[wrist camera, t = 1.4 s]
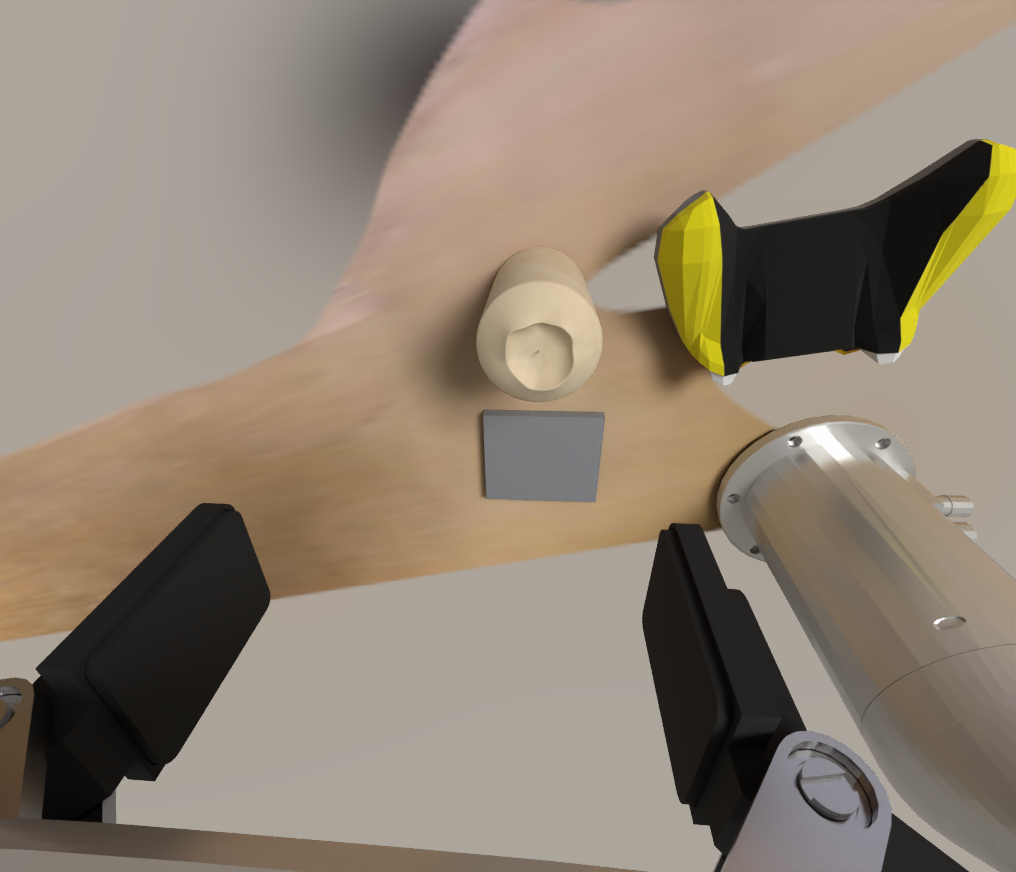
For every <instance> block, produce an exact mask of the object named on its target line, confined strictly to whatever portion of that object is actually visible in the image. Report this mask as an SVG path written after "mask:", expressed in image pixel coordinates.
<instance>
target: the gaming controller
mask: <svg viewBox="0 0 1016 872" xmlns="http://www.w3.org/2000/svg"><path fill="white" fill-rule="evenodd" d="M1015 198H1016V149H1014V148H1012V147H1009V146H1005V145H1001V144H998V143H995V142H993V141H990V140H987V139H973V140H969V141H967V142H965V143H964V144H962V145H961V146H959V147H958V148H956V149H954V150H953V151H951V152H950V153H948V154H947V155H945V156H943V157H942V158H940V159H939V160H937V161H936V162H934V163H932V164H931V165H929V166H928V167H926V168H925V169H923V170H921V171H920V172H918V173H917V174H915V175H914V176H912V177H910V178H909V179H907V180H905V181H904V182H902V183H901V184H899V185H897V186H896V187H894V188H892V189H891V190H889V191H887V192H886V193H884V194H883V195H881V196H879V197H878V198H876V199H874V200H871V201H869V202H867V203H864V204H862V205H860V206H858V207H853V208H848V209H844V210H838V211H832V212H827V213H821V214H815V215H809V216H804V217H798V218H792V219H787V220H781V221H776V222H770V223H765V224H758V225H753V226H746V227H738V226H736V225H735V224H734V222H733V221H732V219H731V218H730V216H729V215H728V214H727V212H726V211H725V210H724V209H723V208H722V206H721V205H720V204H719V203H718V202H717V200H716V199H715V198H714V197H713V196H712V194H711V193H710V192H709V191H706V190H702V191H700V192H698V193H696V194H694V195H693V196H691V197H690V198H689V199H687V200H686V201H685V202H684V203H683V204H682V205H681V206H680V207H679V208H678V209H677V210H676V211H675V212H674V213H673V214H672V215H671V216H670V217H669V218H668V219H667V220H666V221H665V222H664V223H663V224H662V225H661V226H660V227H659V228H658V233H657V240H656V248H655V254H654V259H655V263H656V267H657V271H658V275H659V279H660V283H661V287H662V291H663V295H664V299H665V303H666V306H667V309H668V311H669V314H670V316H671V318H672V321H673V323H674V325H675V328H676V330H677V333H678V335H679V337H680V339H681V340H682V341H683V343H684V344H685V346H686V347H687V349H688V350H689V352H690V353H691V355H692V356H693V357H694V358H695V359H696V360H697V361H698V362H699V363H701V364H702V365H703V366H704V367H706V368H707V369H708V370H709V372H710V375H711V377H712V379H713V381H714V382H716V383H718V384H720V385H722V386H724V385H728V384H731V383H732V381H733V380H734V377H735V376H736V374H737V373H738V371H739V369H740V368H741V367H742V366H744V365H746V364H747V363H749V362H751V361H752V362H755V361H763V360H771V359H778V358H785V357H792V356H800V355H807V354H814V353H821V352H829V351H836V352H838V353H841V354H843V355H845V354H848V353H851V352H855V351H858V350H862V351H863V352H864V353H865V354H867V355H868V356H869V357H870V358H872V359H873V360H874V361H876V362H877V363H878V364H887V363H893V362H894V361H895V360H896V359H897V358H898V357H899V356H900V355H901V353H902V351H903V350H904V348H905V347H906V346H907V345H909V344H910V343H911V341H912V338H913V336H914V334H915V330H916V326H917V321H918V316H919V311H920V309H921V308H922V307H923V305H925V303H926V302H927V301H928V300H929V299H930V298H931V297H932V296H933V295H934V293H935V292H936V291H937V290H938V289H939V288H940V287H941V286H942V285H943V283H944V282H945V281H946V280H947V279H948V278H949V277H950V276H951V274H952V273H953V272H954V271H955V270H956V269H957V268H958V267H959V266H960V264H961V263H962V262H963V261H964V260H965V259H966V258H967V257H968V256H969V255H970V253H971V252H972V251H973V250H974V249H975V248H976V247H977V246H978V245H979V243H980V242H981V241H982V240H983V239H984V238H985V237H986V236H987V235H988V233H989V232H990V231H991V230H992V229H993V228H994V226H996V225H997V223H998V222H999V221H1000V220H1001V219H1002V218H1003V217H1004V216H1005V215H1006V213H1007V212H1008V211H1009V210H1010V209H1011V207H1012V204H1013V202H1014V200H1015Z"/></svg>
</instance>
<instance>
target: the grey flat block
mask: <svg viewBox="0 0 1016 872" xmlns="http://www.w3.org/2000/svg"><path fill="white" fill-rule="evenodd" d="M604 421H605V416H604V412H566V411H517V410H484V414H483V424H484V450H485V475H486V499H510V500H543V501H576V502H596V493H597V484H598V475H599V466H600V457H601V448H602V439H603V430H604Z"/></svg>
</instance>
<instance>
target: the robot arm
mask: <svg viewBox="0 0 1016 872" xmlns="http://www.w3.org/2000/svg"><path fill="white" fill-rule="evenodd" d="M716 509H717V515H718V520H719V522H720V524H721V526H722V529H723V531H724V532H725V534H726V536H727V537H728V539H729V540H730V542H731V543H732V544H733V545H734V546H735V547H737V548H738V549H739V550H740V551H742V552H743V553H745V554H747V555H748V556H750V557H753V558H756V559H758V560H761V561H764V562H766V563H767V564H768V566H769V568H770V570H771V572H772V574H773V575H774V577H775V579H776V581H777V583H778V584H779V586H780V588H781V590H782V592H783V593H784V595H785V597H786V599H787V600H788V603H789V604H790V606H791V608H792V610H793V611H794V613H795V615H796V617H797V619H798V621H799V622H800V624H801V626H802V628H803V629H804V631H805V633H806V635H807V637H808V639H809V640H810V642H811V644H812V646H813V648H814V650H815V651H816V653H817V655H818V657H819V659H820V660H821V662H822V664H823V666H824V668H825V669H826V671H827V673H828V675H829V677H830V679H831V680H832V682H833V684H834V686H835V688H836V689H837V691H838V693H839V695H840V697H841V698H842V700H843V702H844V704H845V706H846V707H847V709H848V711H849V713H850V715H851V716H852V718H853V720H854V722H855V724H856V725H857V727H858V729H859V731H860V733H861V734H862V736H863V738H864V740H865V742H866V744H867V745H868V747H869V749H870V751H871V753H872V754H873V756H874V758H875V760H876V761H877V763H878V765H879V767H880V768H881V770H882V772H883V773H884V775H885V776H886V778H887V779H888V781H889V782H890V784H891V785H892V786H893V788H894V789H895V790H896V792H897V793H898V794H899V795H900V797H901V798H902V799H903V800H904V801H905V802H906V803H907V804H908V805H909V806H910V807H911V809H913V811H914V812H915V813H916V814H917V815H918V816H919V817H921V818H922V819H923V820H924V821H925V822H927V823H928V824H929V825H930V826H931V827H933V828H934V829H935V830H936V831H938V832H939V833H940V834H942V835H943V836H945V837H946V838H947V839H949V840H950V841H952V842H953V843H955V844H956V845H958V846H959V847H961V848H963V849H964V850H966V851H967V852H969V853H970V854H972V855H973V856H975V857H977V858H978V859H980V860H982V861H983V862H985V863H987V864H988V865H990V866H991V867H993V868H995V869H996V870H998V871H999V872H1016V579H1015V578H1014V577H1013V576H1012V575H1011V574H1010V573H1009V572H1007V571H1006V570H1005V569H1004V568H1003V567H1002V566H1001V565H1000V564H998V563H997V562H996V561H995V560H994V559H993V558H992V557H991V556H990V555H988V554H987V553H986V552H985V551H984V550H983V549H982V548H980V546H978V545H977V540H978V537H977V533H976V531H975V529H974V528H973V527H972V525H970V524H968V523H966V522H952V521H950V520H949V519H948V518H947V517H946V516H948V517H968V516H970V515H971V514H972V512H973V509H974V507H973V503H972V501H971V500H970V499H969V498H968V497H966V496H957V495H956V496H954V495H942V496H934V495H933V494H932V493H931V492H930V491H929V490H927V489H926V488H925V487H924V486H923V485H922V484H921V483H919V482H918V481H917V480H916V468H915V462H914V458H913V456H912V454H911V453H910V451H909V449H908V447H907V446H906V445H905V444H904V443H903V442H902V441H901V440H900V439H899V438H898V437H897V436H896V435H894V434H893V433H892V432H890V431H889V430H888V429H886V428H885V427H883V426H882V425H880V424H877V423H874V422H872V421H870V420H868V419H863V418H858V417H853V416H837V415H836V416H835V415H829V416H822V417H814V418H808V419H805V420H802V421H798V422H795V423H791V424H788V425H786V426H784V427H782V428H779V429H777V430H775V431H773V432H771V433H769V434H767V435H766V436H764V437H763V438H761V439H759V440H758V441H756V442H755V443H753V444H752V445H751V446H750V447H749V448H747V449H746V450H745V451H744V452H743V453H742V454H740V456H739V457H738V458H737V459H736V460H735V461H734V463H733V464H732V465H731V466H730V467H729V469H728V471H727V472H726V474H725V476H724V477H723V479H722V481H721V484H720V487H719V490H718V493H717V502H716ZM269 603H270V591H269V588H268V585H267V583H266V580H265V577H264V575H263V572H262V569H261V567H260V564H259V561H258V559H257V556H256V553H255V551H254V548H253V545H252V543H251V540H250V537H249V534H248V532H247V529H246V526H245V524H244V521H243V518H242V516H241V514H240V513H239V512H238V511H235V509H234V507H233V506H231V505H229V504H214V503H203V504H200V505H198V506H197V507H196V508H195V509H194V510H193V511H192V512H191V513H190V514H189V515H188V516H187V517H186V518H185V519H184V520H183V521H182V522H181V523H180V524H179V525H178V526H177V527H176V528H175V529H174V530H173V531H172V532H171V533H170V534H169V535H168V536H167V537H166V538H165V539H164V540H163V541H162V542H161V543H160V544H159V545H158V546H157V547H156V548H155V549H154V550H153V551H152V552H151V553H150V554H149V555H148V556H147V557H146V558H145V559H144V560H143V561H142V562H141V563H140V564H139V565H138V566H137V567H136V568H135V569H134V570H133V571H132V572H131V573H130V574H129V575H128V576H127V577H126V578H125V579H124V580H123V581H122V582H121V583H120V584H119V585H118V586H117V587H116V588H115V589H114V590H113V591H112V592H111V593H110V594H109V595H108V596H107V597H106V598H105V599H104V600H103V601H102V602H101V603H100V604H99V605H98V606H97V607H96V608H95V609H94V610H93V611H92V612H91V613H90V614H89V615H88V616H87V617H86V618H85V619H84V620H83V621H82V622H81V623H80V624H79V625H78V626H77V627H76V628H75V629H74V630H73V631H72V632H71V633H70V634H69V635H68V637H66V638H65V640H63V641H62V642H61V643H60V644H59V645H58V646H57V647H56V649H54V650H53V651H52V652H51V654H49V655H48V656H47V657H46V659H45V660H44V661H42V662H41V663H40V665H39V666H38V667H37V668H36V670H37V671H38V673H39V674H40V675H41V676H40V677H39V678H38V679H37V680H36V681H35V682H34V683H33V684H31V683H30V682H29V681H28V680H26V679H21V678H9V679H1V680H0V872H645V871H636V870H627V869H617V868H609V867H600V866H590V865H581V864H573V863H563V862H555V861H545V860H534V859H523V858H511V857H500V856H490V855H478V854H467V853H456V852H446V851H435V850H424V849H413V848H401V847H389V846H378V845H367V844H354V843H343V842H332V841H319V840H307V839H296V838H285V837H273V836H261V835H249V834H238V833H225V832H213V831H200V830H187V829H175V828H161V827H150V826H138V825H125V824H116V788H117V786H118V785H119V783H120V782H121V780H122V779H123V777H124V776H126V778H127V779H132V780H144V781H155V780H156V779H157V777H158V775H159V774H160V772H161V771H162V769H163V767H164V766H165V764H168V763H169V762H171V761H172V760H173V759H174V758H175V757H176V756H177V755H178V753H179V752H180V750H181V749H182V747H183V745H184V744H185V742H186V740H187V739H188V737H189V736H190V734H191V732H192V731H193V729H194V727H195V726H196V724H197V722H198V721H199V719H200V718H201V716H202V714H203V713H204V711H205V709H206V708H207V706H208V705H209V703H210V701H211V699H212V698H213V696H214V695H215V693H216V692H217V690H218V688H219V687H220V685H221V683H222V682H223V680H224V679H225V677H226V675H227V674H228V672H229V670H230V669H231V667H232V665H233V664H234V662H235V661H236V659H237V657H238V656H239V654H240V652H241V651H242V649H243V648H244V646H245V644H246V642H247V641H248V639H249V638H250V636H251V634H252V633H253V631H254V630H255V628H256V626H257V625H258V623H259V622H260V620H261V618H262V617H263V615H264V613H265V612H266V610H267V608H268V606H269ZM642 623H643V631H644V636H645V641H646V646H647V651H648V655H649V660H650V665H651V670H652V675H653V680H654V684H655V689H656V694H657V699H658V704H659V709H660V713H661V718H662V722H663V727H664V732H665V737H666V742H667V747H668V752H669V757H670V762H671V766H672V771H673V776H674V781H675V786H676V790H677V794H678V797H679V800H680V802H681V803H682V804H689V806H690V810H691V815H692V820H693V824H699V825H710V829H711V833H712V837H713V841H714V845H715V847H716V848H717V849H718V850H719V851H720V852H721V855H720V857H719V859H718V861H717V863H716V866H715V868H714V870H713V872H969V871H967V870H966V869H965V868H963V867H962V866H961V865H960V864H958V863H957V862H956V861H954V860H953V859H951V858H950V857H949V856H948V855H946V854H945V853H944V852H942V851H941V850H940V849H938V848H937V847H936V846H935V845H933V844H932V843H931V842H929V841H928V840H927V839H925V838H924V837H923V836H921V835H920V834H919V833H917V832H916V831H915V830H913V829H912V828H911V827H909V826H908V825H907V824H906V823H904V822H903V821H902V820H900V819H899V818H898V817H896V816H895V815H894V814H892V813H891V805H890V802H889V799H888V796H887V793H886V790H885V789H884V787H883V785H882V784H881V782H880V781H879V779H878V777H877V776H876V774H875V772H874V771H873V770H872V769H871V768H870V767H869V766H868V765H867V764H866V763H865V761H864V760H863V759H862V758H861V757H860V756H858V755H857V754H856V753H855V752H853V751H852V750H851V749H850V748H848V747H847V746H846V745H844V744H843V743H841V742H839V741H837V740H835V739H833V738H831V737H829V736H827V735H824V734H820V733H817V732H813V731H807V730H806V727H805V725H804V723H803V721H802V719H801V717H800V714H799V712H798V710H797V708H796V706H795V704H794V701H793V699H792V697H791V695H790V693H789V690H788V688H787V686H786V684H785V681H784V679H783V677H782V675H781V673H780V670H779V668H778V666H777V664H776V662H775V659H774V657H773V655H772V653H771V651H770V649H769V646H768V644H767V642H766V640H765V638H764V636H763V633H762V631H761V629H760V627H759V625H758V622H757V620H756V618H755V616H754V613H753V611H752V609H751V607H750V605H749V602H748V600H747V599H746V597H745V595H744V594H743V593H742V592H741V591H740V590H736V589H727V586H726V584H725V582H724V579H723V577H722V575H721V572H720V570H719V567H718V565H717V563H716V560H715V558H714V556H713V553H712V551H711V549H710V546H709V544H708V541H707V539H706V537H705V534H704V532H703V529H702V528H701V526H700V525H699V524H680V523H672V524H670V526H669V529H668V530H661V531H660V534H659V539H658V544H657V548H656V553H655V558H654V562H653V567H652V572H651V576H650V581H649V586H648V591H647V596H646V600H645V604H644V609H643V617H642Z"/></svg>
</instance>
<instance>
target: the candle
mask: <svg viewBox="0 0 1016 872" xmlns="http://www.w3.org/2000/svg"><path fill="white" fill-rule="evenodd" d="M602 342H603V341H602V330H601V325H600V322H599V320H598V317H597V314H596V311H595V308H594V305H593V303H592V300H591V297H590V294H589V291H588V288H587V285H586V283H585V280H584V277H583V275H582V273H581V271H580V269H579V268H578V266H577V265H576V264H575V263H574V262H573V260H572V259H570V258H569V257H568V256H567V255H565V254H563V253H562V252H560V251H557V250H555V249H551V248H545V247H535V248H529V249H526V250H523V251H521V252H518V253H517V254H515V255H513V256H512V257H511V258H510V259H508V260H507V261H506V262H505V263H504V265H503V266H502V267H501V269H500V270H499V272H498V274H497V276H496V278H495V280H494V283H493V286H492V289H491V291H490V294H489V297H488V300H487V303H486V305H485V308H484V311H483V314H482V317H481V319H480V322H479V325H478V329H477V334H476V350H477V355H478V359H479V362H480V365H481V367H482V369H483V371H484V372H485V374H486V375H487V377H488V378H489V379H490V380H491V382H492V383H493V384H494V385H495V386H497V387H498V388H499V389H500V390H502V391H503V392H505V393H506V394H508V395H510V396H512V397H515V398H518V399H521V400H525V401H531V402H545V401H552V400H556V399H559V398H562V397H565V396H567V395H569V394H571V393H572V392H574V391H575V390H577V389H578V388H580V387H581V386H582V385H583V384H584V383H585V382H586V381H587V380H588V379H589V378H590V376H591V375H592V373H593V372H594V370H595V368H596V366H597V364H598V362H599V359H600V356H601V351H602Z"/></svg>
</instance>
